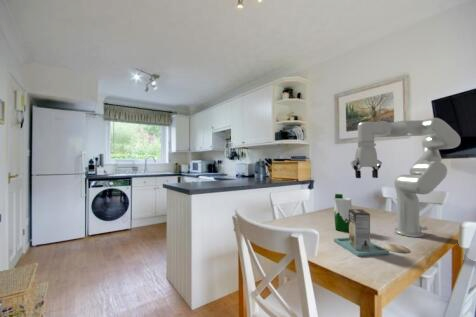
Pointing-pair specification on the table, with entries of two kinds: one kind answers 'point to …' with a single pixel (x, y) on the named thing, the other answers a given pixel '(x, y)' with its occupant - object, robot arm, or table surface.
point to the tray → (373, 251)
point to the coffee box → (359, 229)
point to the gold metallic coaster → (396, 248)
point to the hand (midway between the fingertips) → (366, 177)
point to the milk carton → (342, 212)
